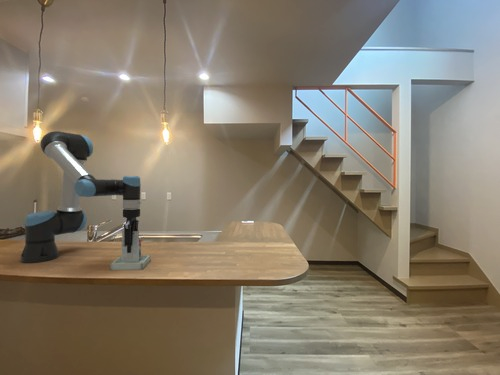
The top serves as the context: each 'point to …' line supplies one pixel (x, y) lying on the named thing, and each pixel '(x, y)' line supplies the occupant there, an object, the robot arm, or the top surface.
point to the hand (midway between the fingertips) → (131, 257)
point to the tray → (130, 264)
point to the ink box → (136, 248)
